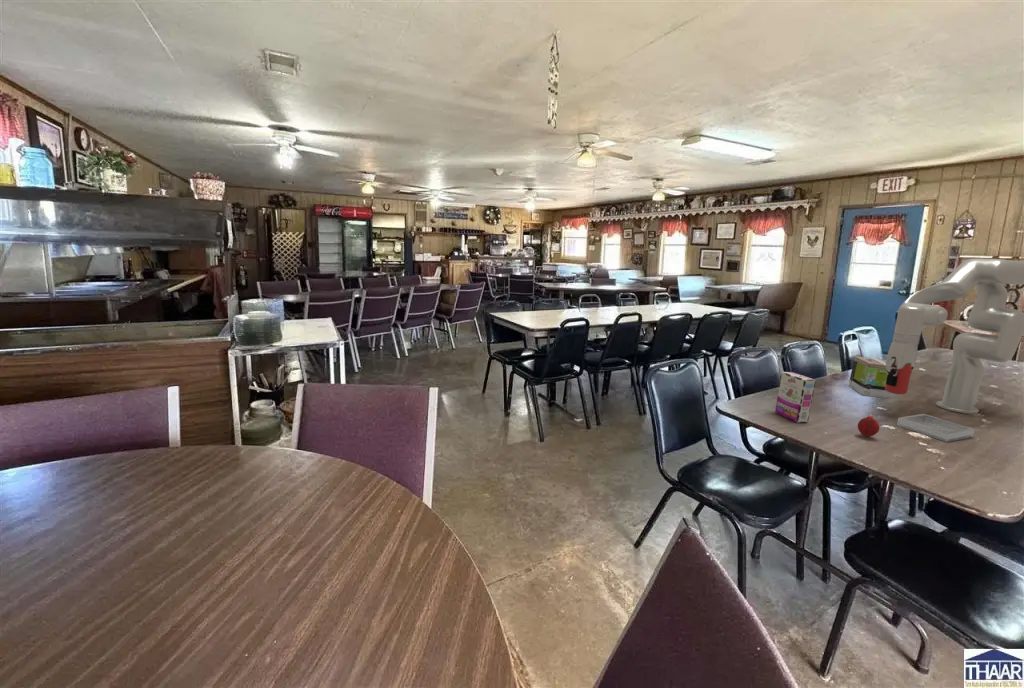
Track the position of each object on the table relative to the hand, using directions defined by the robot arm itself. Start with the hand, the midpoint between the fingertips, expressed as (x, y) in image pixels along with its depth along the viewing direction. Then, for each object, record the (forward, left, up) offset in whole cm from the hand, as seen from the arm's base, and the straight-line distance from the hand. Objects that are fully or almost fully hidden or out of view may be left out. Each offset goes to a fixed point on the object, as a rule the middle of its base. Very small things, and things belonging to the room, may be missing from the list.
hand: (897, 383), depth 175 cm
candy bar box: (+42, -9, -13) cm, 45 cm away
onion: (+33, +12, -13) cm, 37 cm away
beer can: (0, 0, -3) cm, 3 cm away
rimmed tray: (+2, +15, -13) cm, 20 cm away
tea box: (-23, -23, -13) cm, 35 cm away
